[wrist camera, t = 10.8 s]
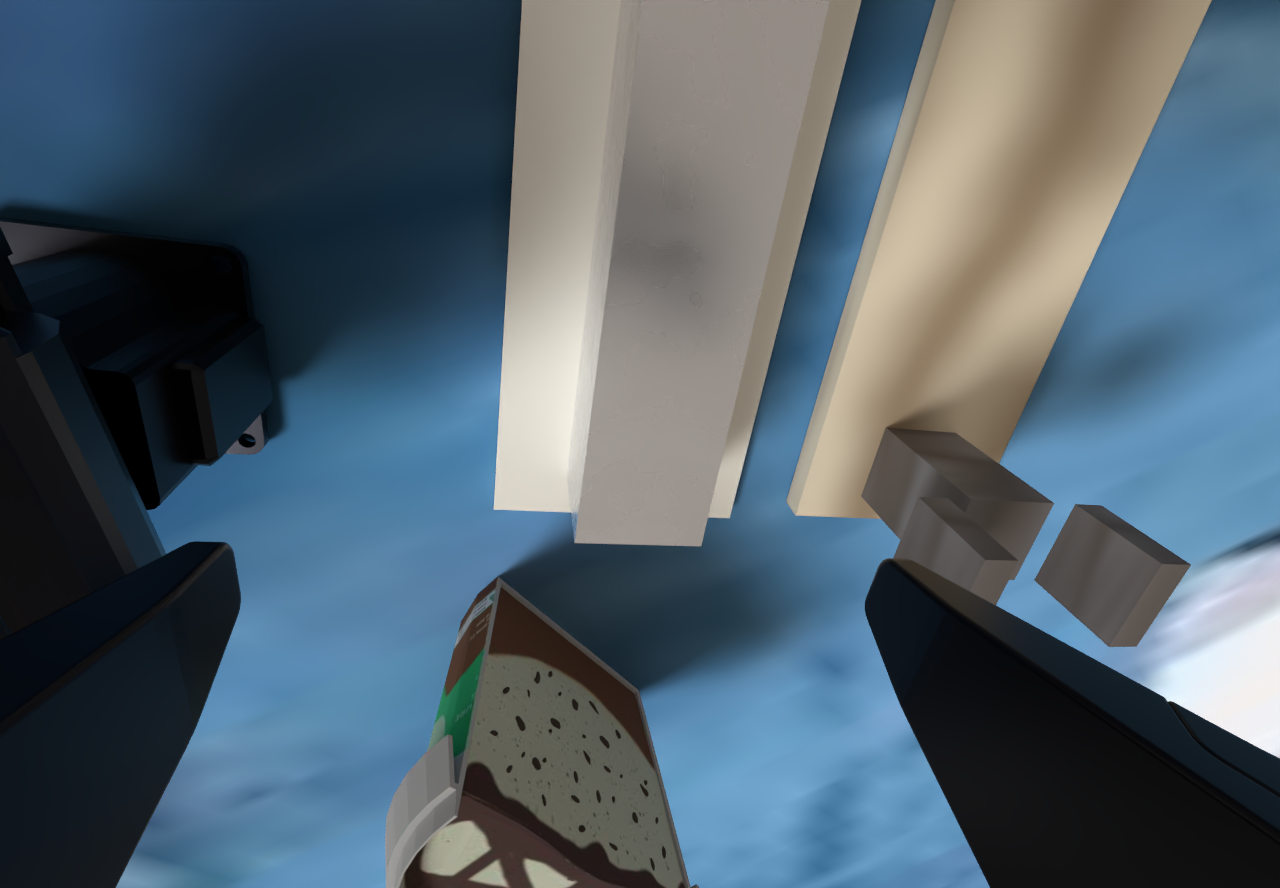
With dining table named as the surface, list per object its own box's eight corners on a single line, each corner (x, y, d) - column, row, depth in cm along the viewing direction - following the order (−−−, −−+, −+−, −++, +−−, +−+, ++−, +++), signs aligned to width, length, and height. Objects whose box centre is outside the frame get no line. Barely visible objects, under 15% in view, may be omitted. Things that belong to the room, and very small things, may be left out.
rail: (566, 476, 22) (574, 543, 19) (682, -538, 12) (746, -808, 9) (674, 481, 23) (701, 546, 19) (864, -461, 13) (990, -680, 9)
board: (494, 500, 23) (493, 509, 22) (560, -688, 11) (562, -726, 11) (725, 509, 25) (729, 518, 24) (976, -500, 13) (995, -526, 13)
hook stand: (786, 501, 25) (906, 675, 17) (1062, -424, 14) (1739, -1115, 6) (957, 509, 27) (1138, 671, 19) (1320, -312, 16) (2108, -743, 8)
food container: (356, 641, 25) (263, 926, 16) (470, 554, 24) (438, 806, 15) (558, 771, 30) (572, 1034, 22) (657, 705, 29) (714, 953, 21)
